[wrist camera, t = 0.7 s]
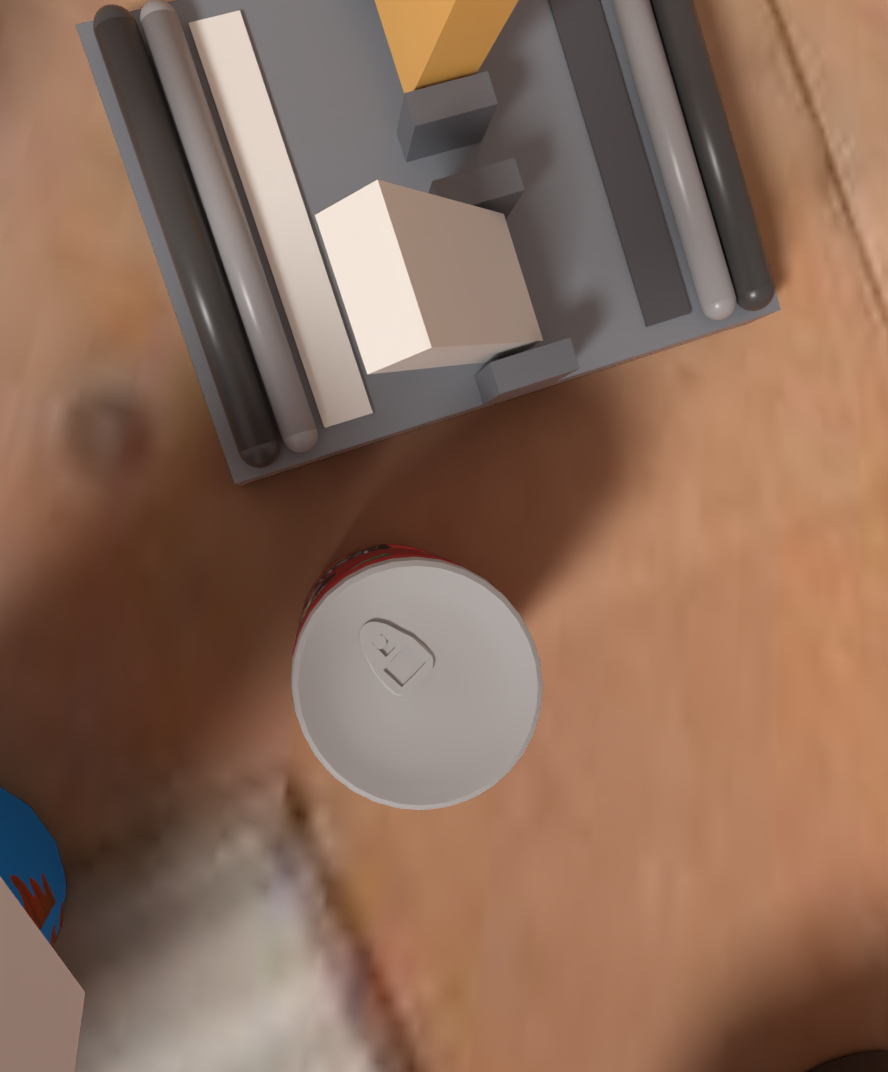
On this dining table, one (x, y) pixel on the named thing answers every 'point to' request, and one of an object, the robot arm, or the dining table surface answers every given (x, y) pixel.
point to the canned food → (413, 678)
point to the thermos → (31, 865)
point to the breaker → (426, 279)
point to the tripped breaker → (440, 37)
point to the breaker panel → (432, 167)
